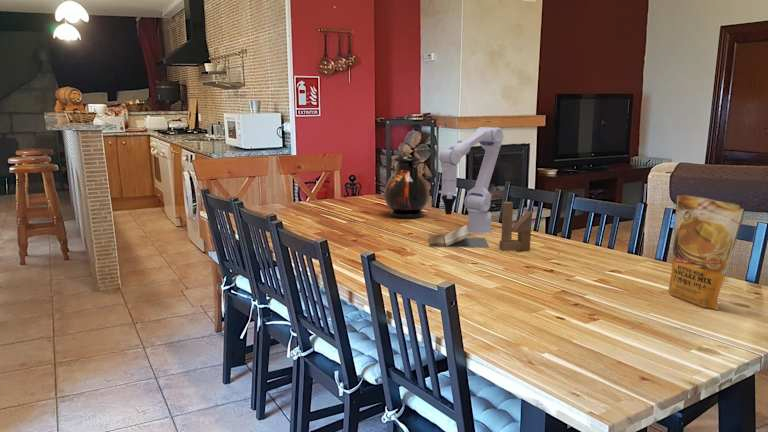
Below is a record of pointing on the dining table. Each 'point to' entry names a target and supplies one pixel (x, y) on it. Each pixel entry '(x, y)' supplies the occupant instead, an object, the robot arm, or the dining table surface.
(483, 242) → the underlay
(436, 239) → the laid plank
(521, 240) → the brown wooden upright frame
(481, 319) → the dining table surface
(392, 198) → the amphora vase
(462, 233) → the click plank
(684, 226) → the pancake mix bag
